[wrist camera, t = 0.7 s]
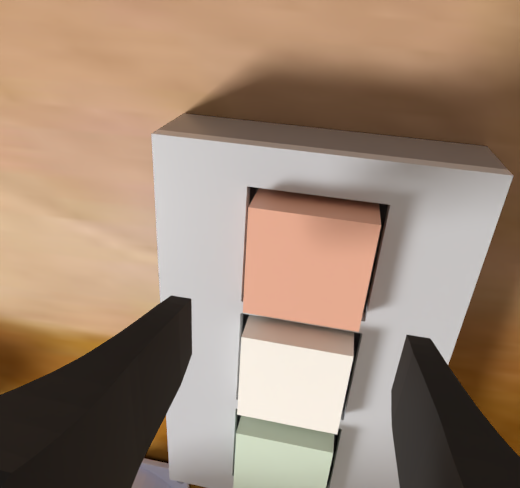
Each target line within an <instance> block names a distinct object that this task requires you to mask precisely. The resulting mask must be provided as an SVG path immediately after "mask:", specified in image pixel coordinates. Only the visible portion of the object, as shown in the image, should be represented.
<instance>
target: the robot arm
mask: <svg viewBox="0 0 520 488" xmlns="http://www.w3.org/2000/svg"><path fill="white" fill-rule="evenodd" d="M191 356H192V304H191V299H190V298H184V297H178V296H172V295H171V296H170V297H168V298H167V299H165V300H164V301H163V302H161V303H160V304H158V305H157V306H156V307H154V308H153V309H152V310H150V311H149V312H148V313H146V314H145V315H144V316H142V317H141V318H139V319H138V320H137V321H135V322H134V323H133V324H131V325H130V326H128V327H127V328H125V329H124V330H123V331H121V332H120V333H118V334H117V335H115V336H114V337H112V338H111V339H109V340H108V341H106V342H105V343H103V344H101V345H100V346H98V347H97V348H95V349H94V350H92V351H90V352H89V353H87V354H85V355H84V356H82V357H80V358H78V359H77V360H75V361H73V362H71V363H69V364H67V365H65V366H63V367H62V368H60V369H58V370H56V371H54V372H52V373H50V374H48V375H45V376H43V377H41V378H39V379H36V380H34V381H32V382H30V383H27V384H25V385H23V386H21V387H19V388H16V389H14V390H12V391H9V392H7V393H4V394H1V395H0V488H189V484H188V483H184V482H180V481H175V480H171V479H170V477H169V463H164V462H159V461H155V460H150V459H146V458H144V457H145V455H146V452H147V451H148V449H149V447H150V445H151V443H152V441H153V439H154V437H155V435H156V433H157V431H158V429H159V427H160V425H161V423H162V421H163V419H164V418H165V416H166V414H167V412H168V410H169V408H170V406H171V404H172V402H173V400H174V398H175V396H176V394H177V392H178V390H179V388H180V386H181V383H182V381H183V378H184V375H185V373H186V370H187V367H188V364H189V361H190V359H191ZM391 419H392V433H393V441H394V448H395V456H396V463H397V471H398V478H399V485H400V488H520V457H519V456H518V455H517V454H516V453H515V452H514V451H513V449H512V448H511V447H510V446H509V445H508V444H507V443H506V442H505V441H504V439H503V438H502V437H501V436H500V435H499V434H498V433H497V431H496V430H495V429H494V428H493V426H492V425H491V424H490V423H489V421H488V420H487V419H486V418H485V416H484V415H483V414H482V412H481V411H480V410H479V409H478V407H477V406H476V405H475V403H474V402H473V400H472V399H471V398H470V396H469V395H468V394H467V392H466V391H465V389H464V388H463V387H462V385H461V384H460V382H459V381H458V379H457V378H456V376H455V375H454V373H453V372H452V370H451V369H450V367H449V366H448V364H447V363H446V361H445V360H444V358H443V357H442V355H441V354H440V352H439V350H438V349H437V347H436V346H435V344H434V343H433V341H432V340H431V339H430V338H425V337H419V336H413V335H406V339H405V342H404V346H403V350H402V353H401V357H400V360H399V364H398V368H397V371H396V375H395V379H394V382H393V386H392V390H391Z"/></svg>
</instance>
